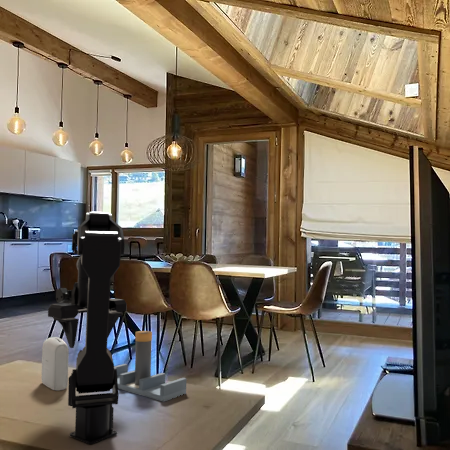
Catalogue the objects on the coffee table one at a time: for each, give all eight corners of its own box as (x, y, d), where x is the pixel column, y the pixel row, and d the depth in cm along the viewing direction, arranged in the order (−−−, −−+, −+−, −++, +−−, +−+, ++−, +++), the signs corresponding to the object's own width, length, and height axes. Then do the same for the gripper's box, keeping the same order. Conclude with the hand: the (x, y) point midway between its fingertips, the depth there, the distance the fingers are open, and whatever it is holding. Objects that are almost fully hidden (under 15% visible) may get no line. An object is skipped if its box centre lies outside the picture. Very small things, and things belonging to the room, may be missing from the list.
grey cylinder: (148, 386, 119) (150, 334, 120) (132, 385, 119) (133, 333, 120) (152, 381, 123) (153, 331, 124) (136, 380, 124) (137, 330, 124)
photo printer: (39, 382, 125) (40, 335, 125) (55, 380, 127) (56, 333, 128) (52, 392, 117) (54, 342, 117) (69, 389, 120) (71, 340, 120)
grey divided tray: (163, 401, 111) (164, 385, 111) (101, 383, 125) (101, 369, 125) (186, 393, 118) (186, 378, 118) (124, 377, 131) (124, 363, 131)
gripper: (100, 275, 125) (98, 335, 124) (35, 278, 110) (32, 346, 109) (129, 277, 118) (127, 340, 117) (64, 281, 103) (61, 353, 102)
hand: (88, 344), depth 112 cm, fingers open, 9 cm apart
